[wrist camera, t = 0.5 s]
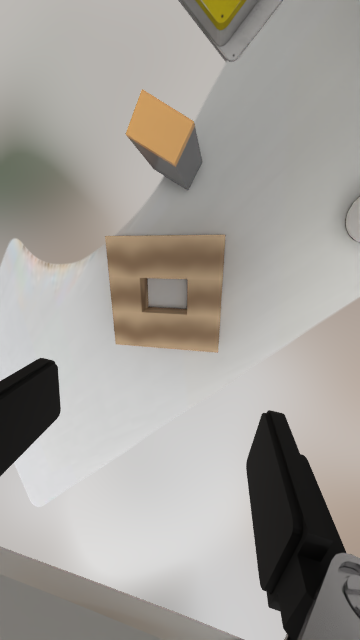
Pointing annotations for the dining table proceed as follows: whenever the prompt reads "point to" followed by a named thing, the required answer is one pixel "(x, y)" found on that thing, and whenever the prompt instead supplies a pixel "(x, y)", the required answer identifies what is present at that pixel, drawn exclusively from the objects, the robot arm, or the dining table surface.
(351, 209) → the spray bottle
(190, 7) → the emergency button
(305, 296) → the dining table surface
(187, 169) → the key peg
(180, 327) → the socket block
